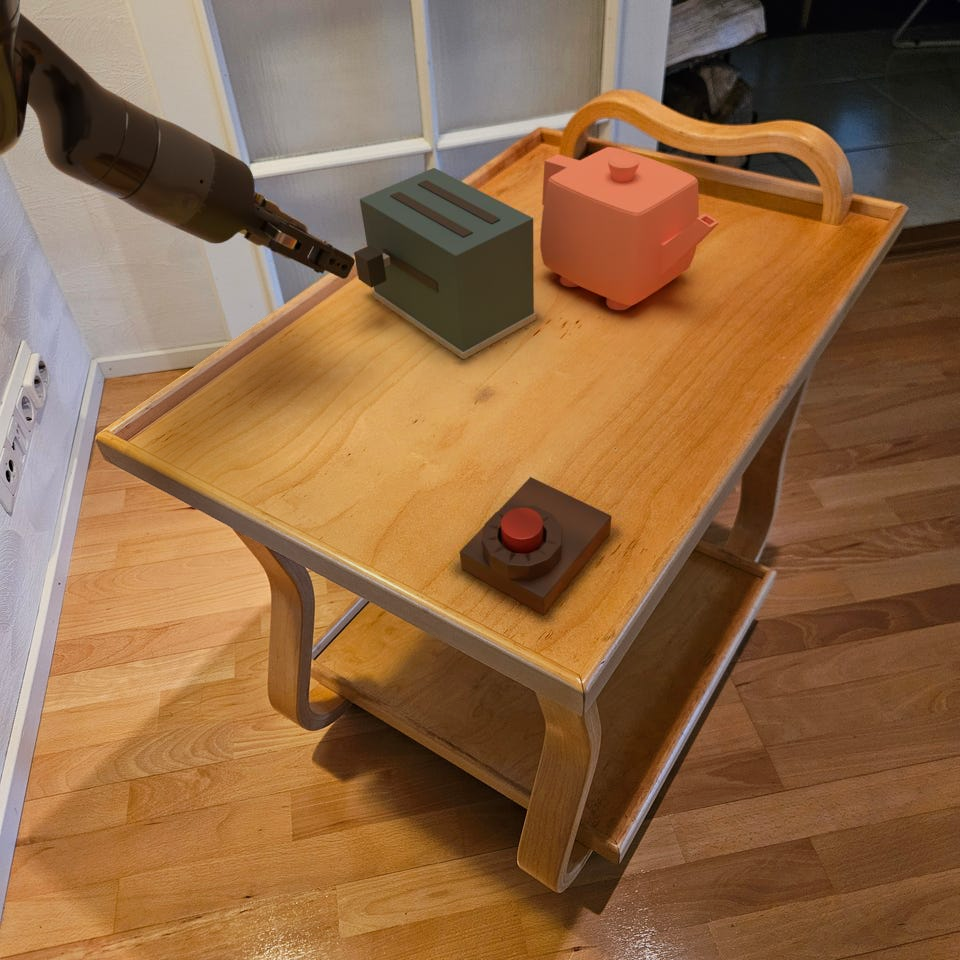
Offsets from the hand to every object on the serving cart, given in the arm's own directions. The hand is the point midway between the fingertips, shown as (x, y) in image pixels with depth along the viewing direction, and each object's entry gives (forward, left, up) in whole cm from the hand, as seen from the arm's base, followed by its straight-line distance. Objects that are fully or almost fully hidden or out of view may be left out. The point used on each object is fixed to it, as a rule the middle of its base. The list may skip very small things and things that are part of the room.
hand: (325, 252), depth 82 cm
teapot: (+31, +10, -11) cm, 34 cm away
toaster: (+12, +6, -11) cm, 17 cm away
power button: (+18, -32, -7) cm, 37 cm away
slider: (+4, +4, -5) cm, 8 cm away
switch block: (+19, -30, -11) cm, 37 cm away
